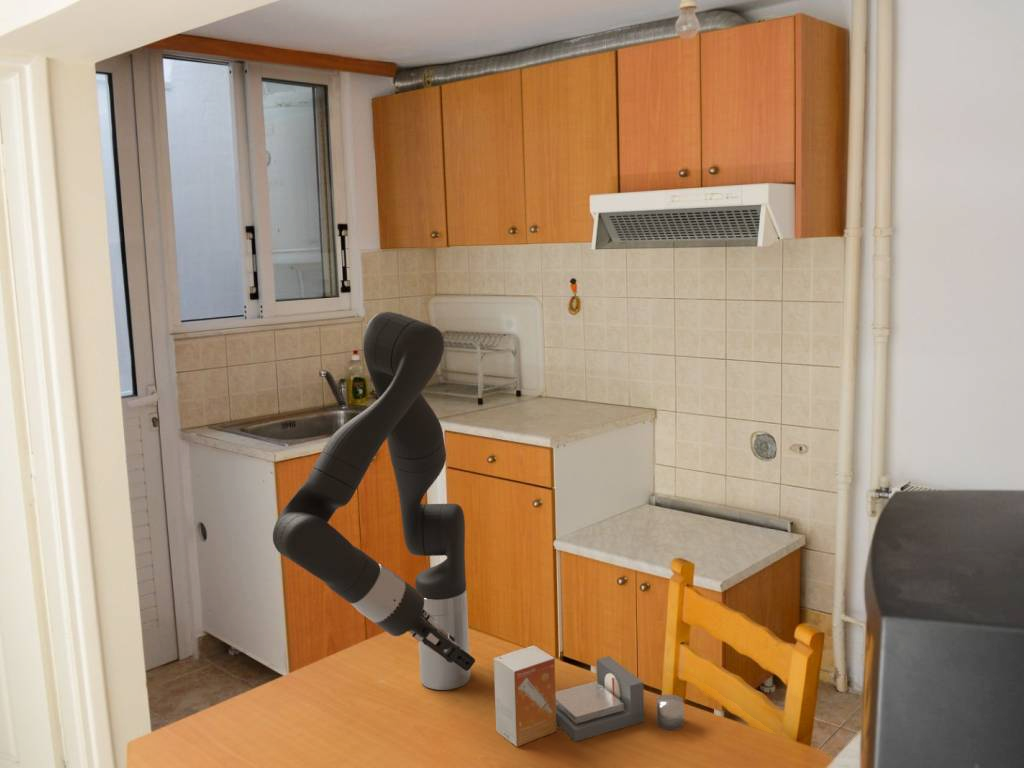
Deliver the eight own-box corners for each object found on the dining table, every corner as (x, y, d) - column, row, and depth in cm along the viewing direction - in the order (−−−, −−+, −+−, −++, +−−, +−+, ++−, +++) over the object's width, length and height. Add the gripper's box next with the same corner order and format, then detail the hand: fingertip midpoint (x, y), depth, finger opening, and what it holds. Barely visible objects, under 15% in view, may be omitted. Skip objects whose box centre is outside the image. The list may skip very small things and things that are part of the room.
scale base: (544, 711, 161) (542, 673, 159) (609, 693, 166) (608, 656, 165) (575, 741, 151) (573, 701, 150) (643, 721, 156) (643, 682, 155)
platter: (550, 699, 160) (550, 693, 159) (596, 687, 163) (596, 681, 163) (575, 723, 152) (575, 717, 151) (623, 710, 155) (623, 703, 155)
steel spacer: (651, 720, 156) (651, 698, 156) (673, 714, 158) (673, 692, 157) (666, 733, 152) (666, 710, 152) (689, 726, 154) (688, 703, 154)
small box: (516, 748, 149) (513, 671, 147) (495, 731, 155) (492, 657, 153) (558, 732, 154) (555, 657, 152) (535, 716, 159) (533, 643, 157)
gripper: (417, 594, 135) (493, 652, 142) (387, 564, 148) (458, 618, 154) (384, 637, 134) (462, 693, 140) (356, 603, 146) (430, 656, 153)
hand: (460, 654), depth 147 cm, fingers open, 8 cm apart
